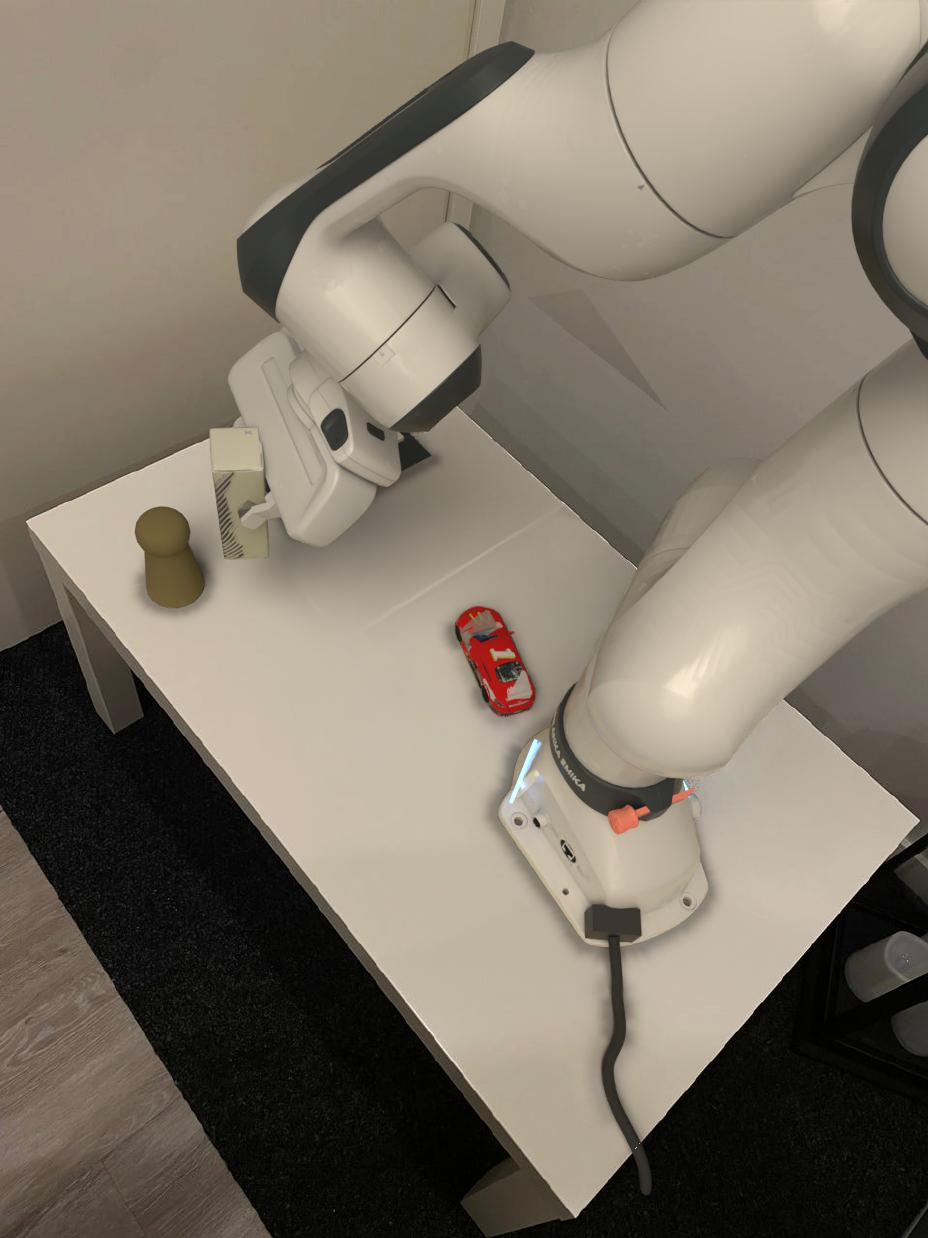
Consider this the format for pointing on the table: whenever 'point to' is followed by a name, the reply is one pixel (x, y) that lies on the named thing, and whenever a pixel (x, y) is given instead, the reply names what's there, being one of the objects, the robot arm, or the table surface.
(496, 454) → the table surface
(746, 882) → the table surface
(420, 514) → the table surface
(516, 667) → the race car
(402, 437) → the beige rectangular block
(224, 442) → the box
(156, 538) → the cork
